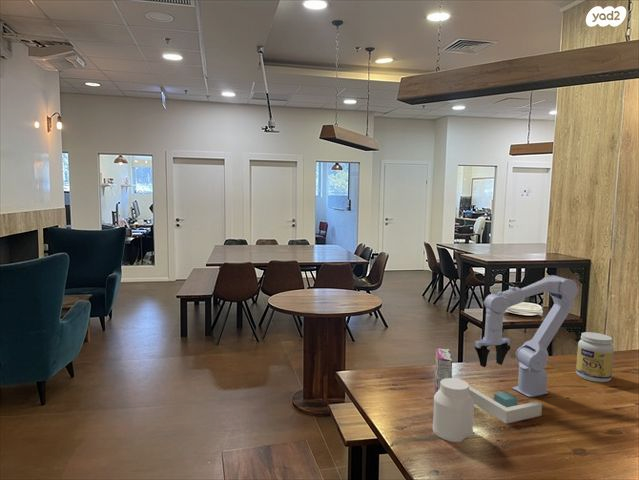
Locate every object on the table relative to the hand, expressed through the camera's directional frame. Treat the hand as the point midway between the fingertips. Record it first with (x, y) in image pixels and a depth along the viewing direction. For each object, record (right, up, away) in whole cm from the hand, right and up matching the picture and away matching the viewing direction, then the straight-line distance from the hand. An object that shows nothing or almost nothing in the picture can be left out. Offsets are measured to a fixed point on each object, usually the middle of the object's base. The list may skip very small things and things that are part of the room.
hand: (491, 365), depth 156 cm
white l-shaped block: (0, -11, -9) cm, 14 cm away
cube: (0, -12, -12) cm, 16 cm away
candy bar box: (-19, -11, -5) cm, 22 cm away
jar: (-22, -13, -26) cm, 37 cm away
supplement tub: (+48, -10, +17) cm, 52 cm away
